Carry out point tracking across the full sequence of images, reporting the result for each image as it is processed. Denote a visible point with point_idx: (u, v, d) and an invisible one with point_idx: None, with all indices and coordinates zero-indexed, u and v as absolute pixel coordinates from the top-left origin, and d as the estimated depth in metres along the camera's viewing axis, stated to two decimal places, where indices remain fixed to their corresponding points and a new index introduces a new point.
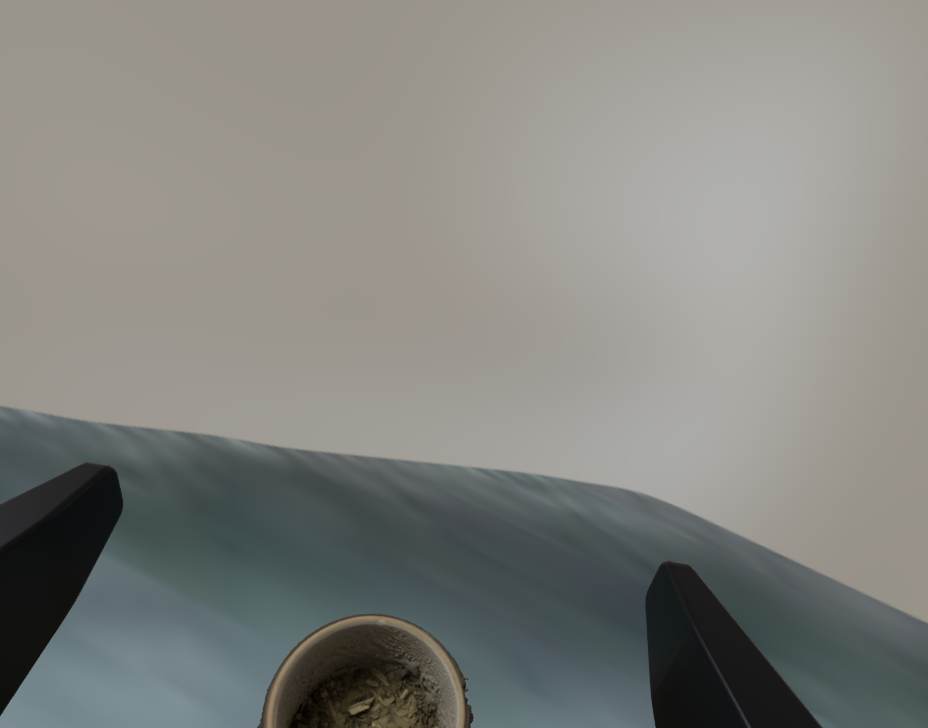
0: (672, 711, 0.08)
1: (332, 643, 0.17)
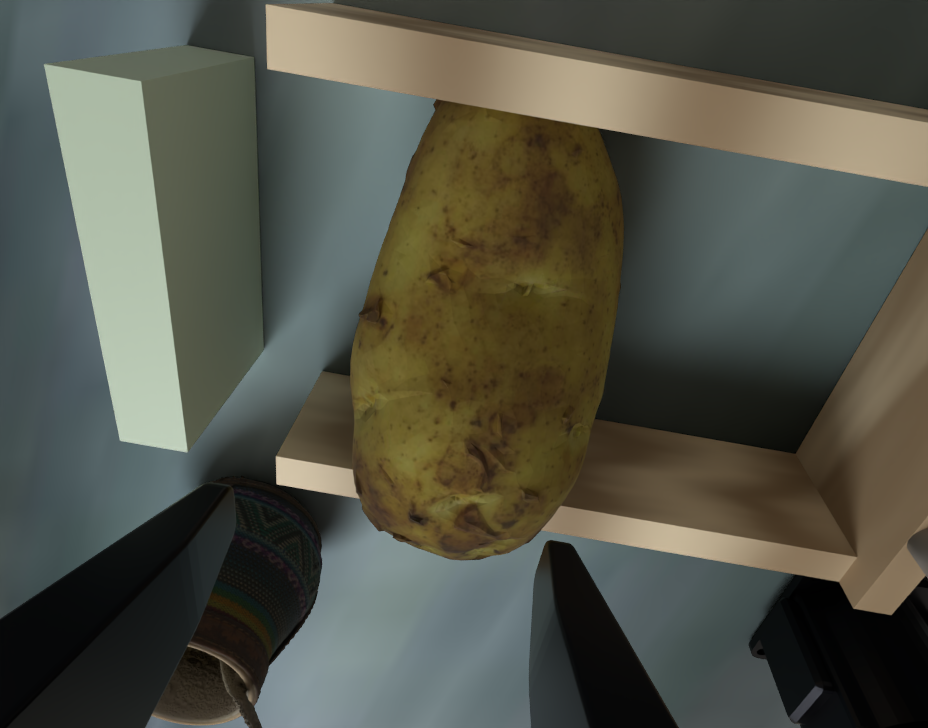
0: (540, 689, 0.08)
1: None
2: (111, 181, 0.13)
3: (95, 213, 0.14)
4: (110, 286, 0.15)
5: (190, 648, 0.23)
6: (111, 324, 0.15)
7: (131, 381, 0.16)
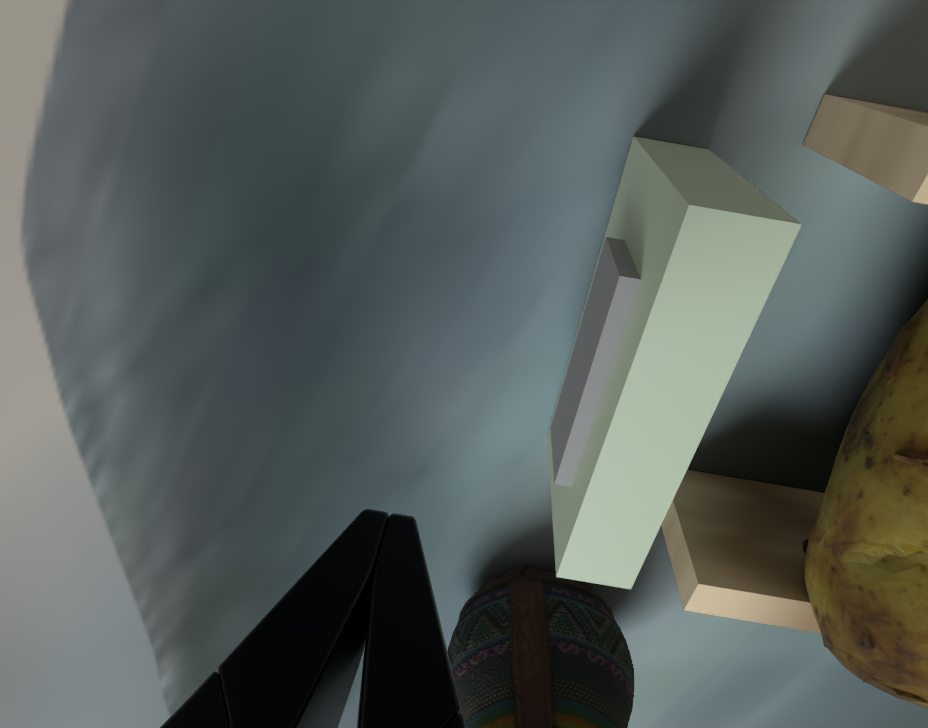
0: None
1: None
2: (701, 325, 0.11)
3: (661, 357, 0.12)
4: (634, 429, 0.13)
5: None
6: (613, 466, 0.14)
7: (604, 521, 0.14)
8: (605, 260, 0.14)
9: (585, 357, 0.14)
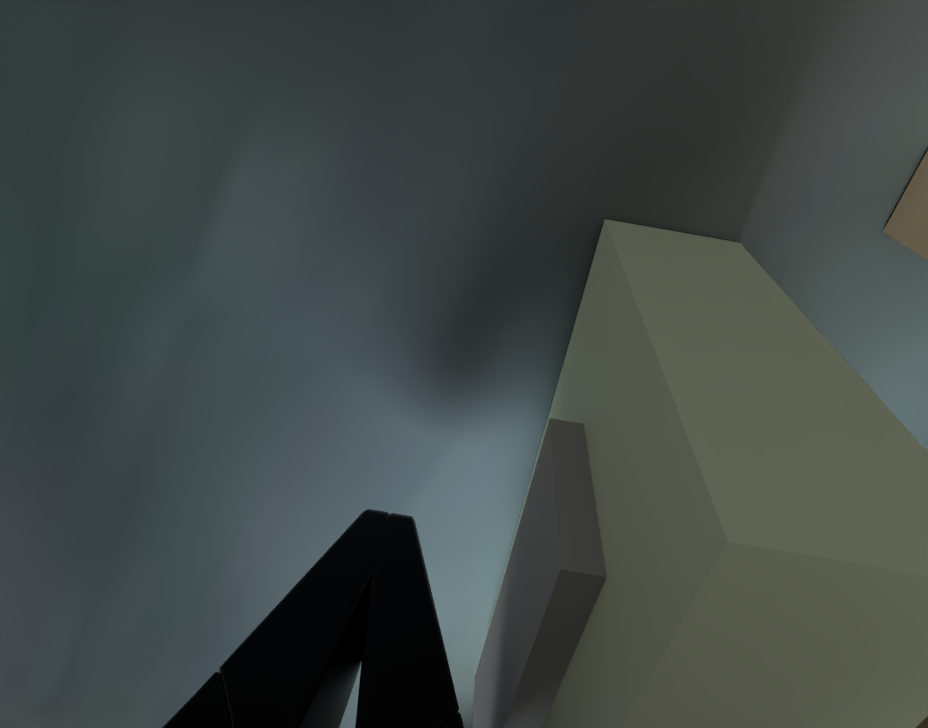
0: None
1: None
2: None
3: None
4: None
5: None
6: None
7: None
8: (545, 473, 0.07)
9: (511, 644, 0.08)
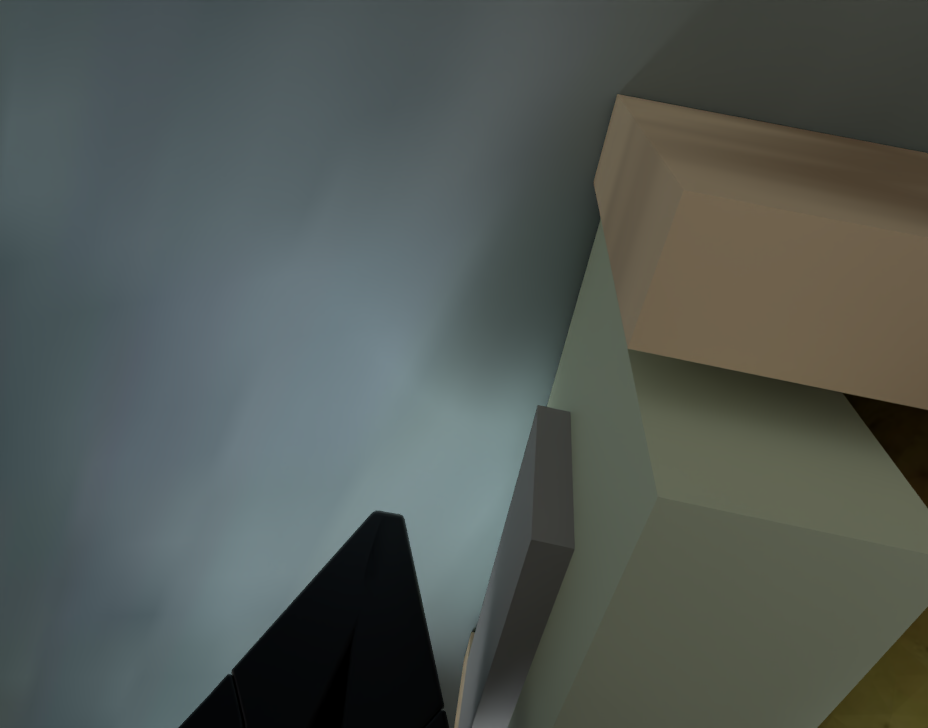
0: None
1: None
2: (692, 712, 0.05)
3: None
4: None
5: None
6: None
7: None
8: (530, 456, 0.08)
9: (493, 620, 0.08)
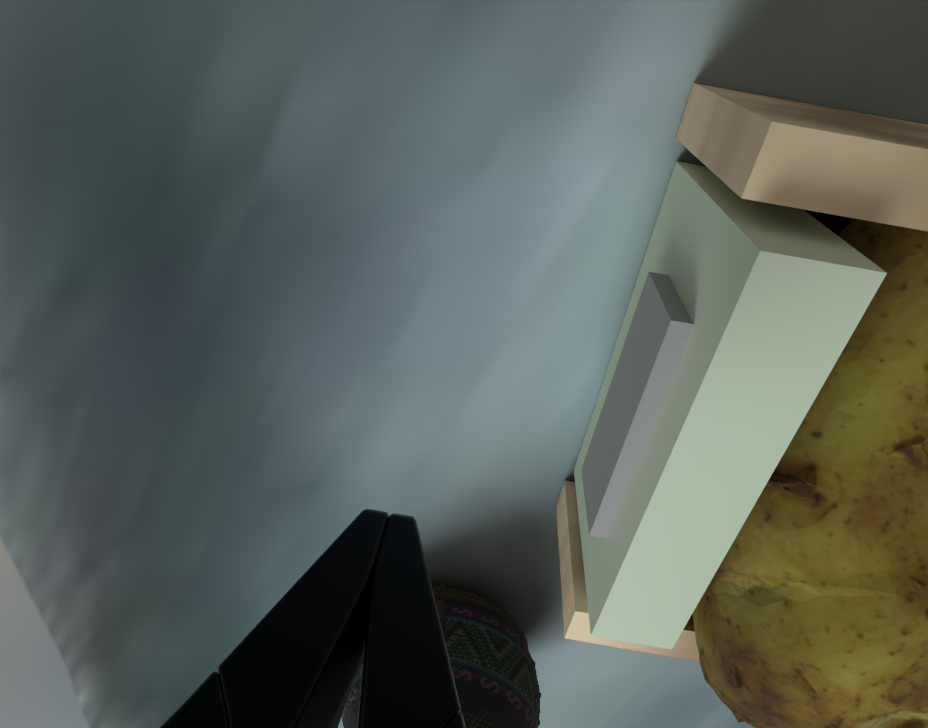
0: None
1: None
2: (765, 380, 0.10)
3: (719, 413, 0.11)
4: (684, 487, 0.12)
5: None
6: (659, 524, 0.12)
7: (646, 580, 0.13)
8: (649, 298, 0.13)
9: (626, 402, 0.13)
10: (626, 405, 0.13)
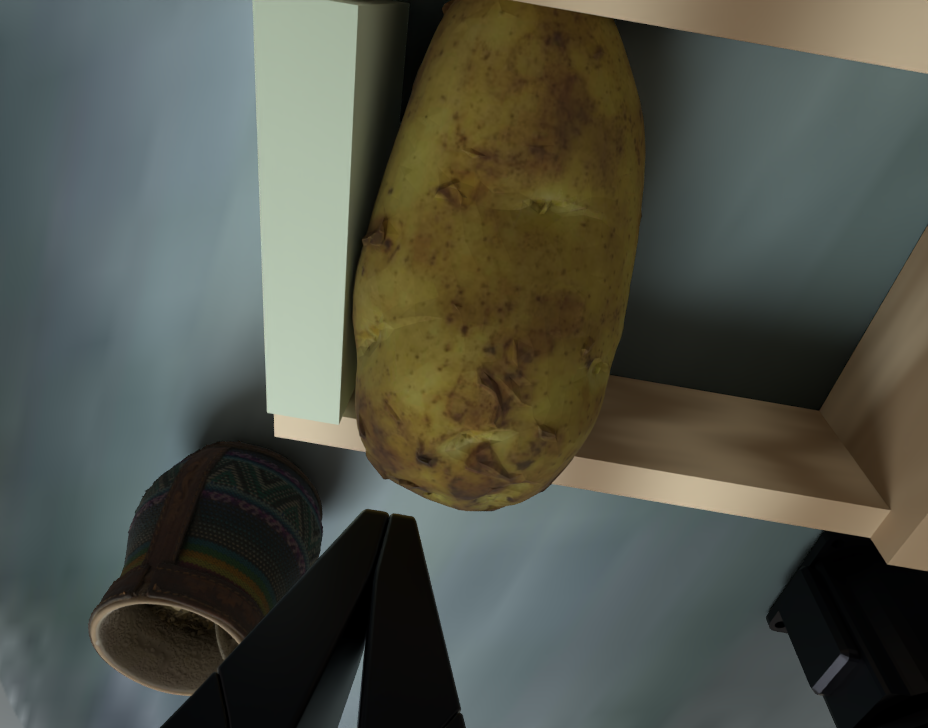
0: None
1: (130, 656, 0.21)
2: (305, 121, 0.12)
3: (281, 158, 0.13)
4: (284, 241, 0.14)
5: (184, 616, 0.22)
6: (278, 283, 0.14)
7: (289, 346, 0.15)
8: None
9: None
10: None
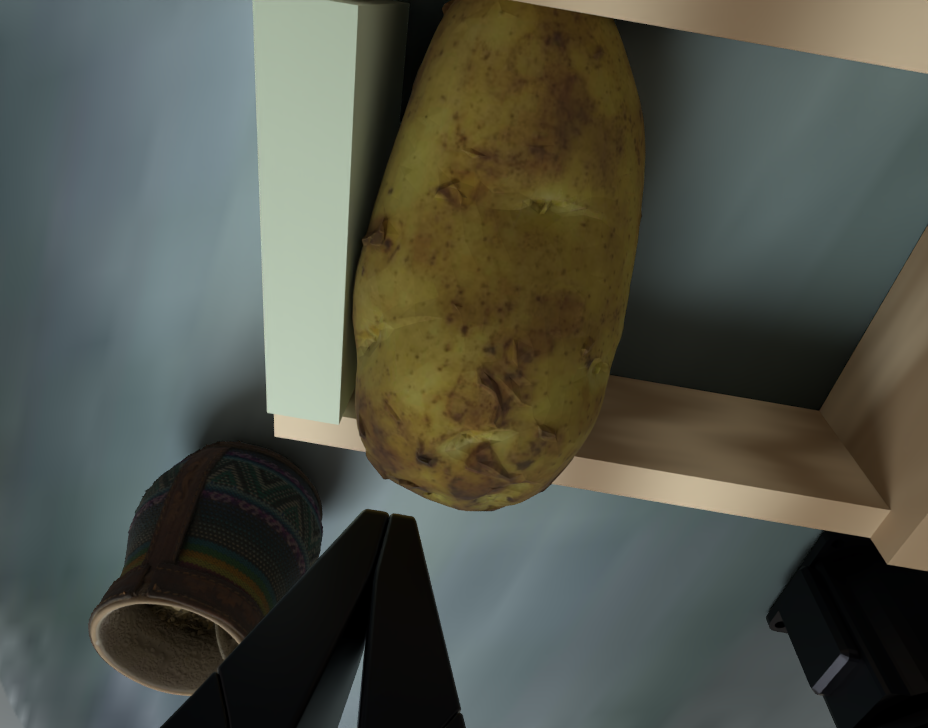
0: None
1: (130, 656, 0.21)
2: (305, 121, 0.12)
3: (281, 158, 0.13)
4: (284, 241, 0.14)
5: (185, 616, 0.22)
6: (278, 283, 0.14)
7: (290, 346, 0.15)
8: None
9: None
10: None
